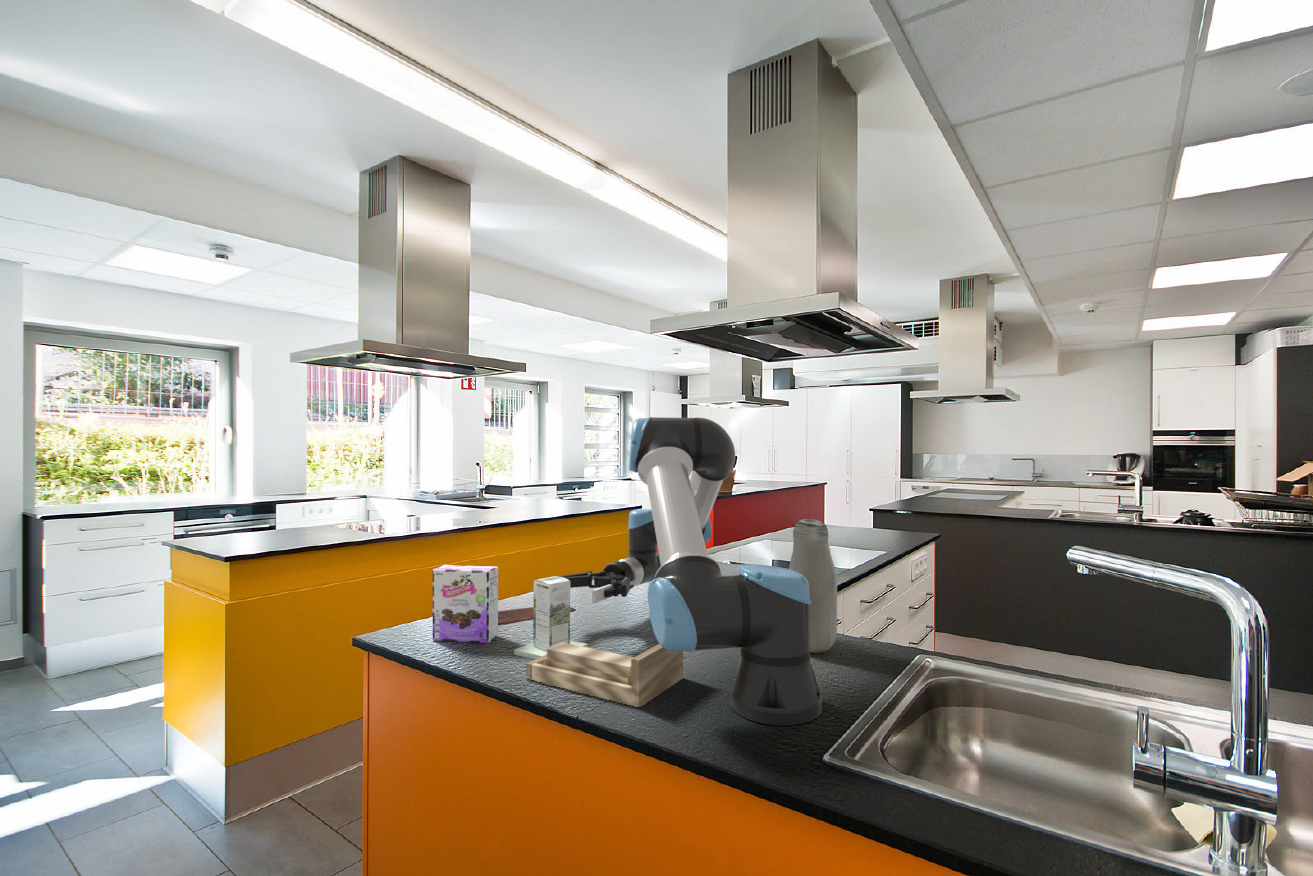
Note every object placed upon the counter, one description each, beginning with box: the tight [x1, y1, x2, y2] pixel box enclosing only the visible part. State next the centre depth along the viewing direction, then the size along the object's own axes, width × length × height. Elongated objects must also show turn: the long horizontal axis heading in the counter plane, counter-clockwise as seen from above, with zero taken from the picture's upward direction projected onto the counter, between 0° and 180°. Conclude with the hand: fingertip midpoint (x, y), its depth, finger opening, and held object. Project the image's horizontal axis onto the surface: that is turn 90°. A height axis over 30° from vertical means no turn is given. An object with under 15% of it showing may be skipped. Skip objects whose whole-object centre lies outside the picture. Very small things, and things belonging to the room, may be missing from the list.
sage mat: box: [513, 639, 589, 660], centre depth 133 cm, size 11×11×1 cm
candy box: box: [432, 564, 499, 644], centre depth 142 cm, size 14×6×16 cm, turn 80°
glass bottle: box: [788, 518, 838, 654], centre depth 132 cm, size 10×10×28 cm
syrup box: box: [532, 575, 571, 651], centre depth 133 cm, size 6×6×14 cm
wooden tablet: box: [498, 606, 577, 625], centre depth 162 cm, size 26×2×10 cm
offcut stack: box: [545, 642, 635, 686], centre depth 114 cm, size 20×4×6 cm, turn 58°
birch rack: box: [525, 643, 684, 708], centre depth 117 cm, size 26×16×8 cm, turn 59°
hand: (569, 593), depth 139 cm, fingers open, 13 cm apart
